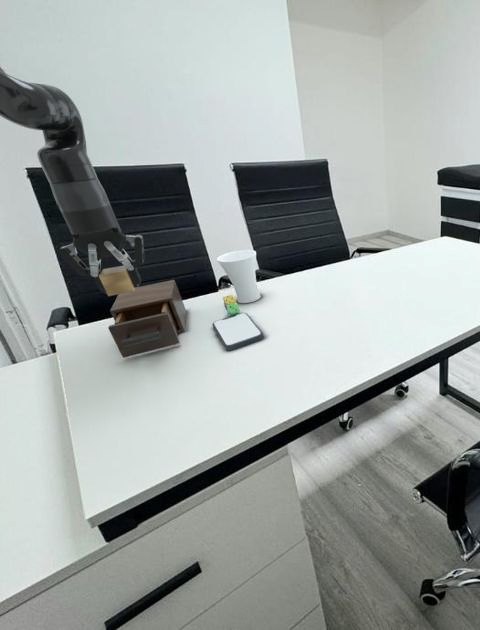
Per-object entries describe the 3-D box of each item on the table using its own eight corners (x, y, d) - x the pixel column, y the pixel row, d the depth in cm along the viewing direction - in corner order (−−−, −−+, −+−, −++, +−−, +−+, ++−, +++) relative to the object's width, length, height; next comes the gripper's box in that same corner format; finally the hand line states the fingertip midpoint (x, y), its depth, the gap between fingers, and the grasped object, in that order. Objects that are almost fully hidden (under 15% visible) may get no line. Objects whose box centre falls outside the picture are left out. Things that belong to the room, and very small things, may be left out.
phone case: (266, 339, 92) (247, 316, 104) (264, 333, 92) (246, 311, 103) (227, 353, 88) (212, 327, 100) (225, 347, 87) (210, 322, 99)
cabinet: (184, 331, 99) (171, 297, 94) (126, 346, 94) (109, 310, 89) (186, 310, 110) (174, 279, 106) (134, 322, 106) (120, 290, 101)
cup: (270, 300, 113) (258, 256, 107) (232, 309, 109) (217, 264, 103) (264, 289, 121) (253, 247, 115) (228, 297, 117) (215, 254, 111)
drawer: (178, 351, 88) (166, 321, 84) (119, 367, 84) (103, 336, 80) (181, 321, 102) (171, 294, 99) (131, 333, 98) (118, 305, 94)
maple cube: (108, 296, 78) (98, 275, 76) (112, 289, 82) (103, 269, 79) (134, 291, 80) (125, 270, 78) (137, 284, 83) (128, 264, 81)
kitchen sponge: (226, 312, 107) (219, 291, 104) (236, 309, 109) (230, 288, 106) (232, 322, 101) (224, 300, 98) (242, 319, 102) (235, 298, 100)
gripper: (132, 197, 78) (163, 276, 86) (44, 208, 73) (85, 291, 81) (126, 203, 72) (160, 287, 80) (30, 215, 67) (75, 303, 75)
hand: (122, 288), depth 80 cm, fingers closed on maple cube, 4 cm apart
